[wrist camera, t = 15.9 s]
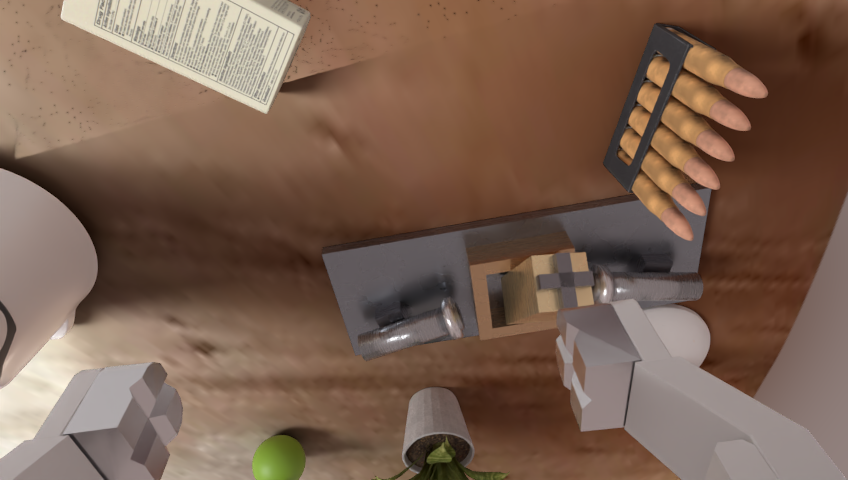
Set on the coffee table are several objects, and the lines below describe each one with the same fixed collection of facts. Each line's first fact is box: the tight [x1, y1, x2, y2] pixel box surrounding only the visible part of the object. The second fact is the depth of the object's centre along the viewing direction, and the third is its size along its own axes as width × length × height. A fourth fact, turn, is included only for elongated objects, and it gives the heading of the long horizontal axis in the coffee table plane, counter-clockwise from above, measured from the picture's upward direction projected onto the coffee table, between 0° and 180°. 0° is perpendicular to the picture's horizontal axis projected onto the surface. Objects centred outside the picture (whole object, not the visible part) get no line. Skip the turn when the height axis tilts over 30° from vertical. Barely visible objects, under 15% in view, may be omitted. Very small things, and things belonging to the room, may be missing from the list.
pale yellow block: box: [501, 252, 595, 325], centre depth 41 cm, size 4×4×10 cm
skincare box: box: [61, 0, 310, 114], centre depth 32 cm, size 6×4×12 cm
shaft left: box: [358, 297, 465, 361], centre depth 46 cm, size 9×4×4 cm, turn 111°
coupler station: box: [322, 183, 711, 355], centre depth 46 cm, size 32×12×4 cm, turn 99°
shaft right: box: [589, 254, 703, 304], centre depth 45 cm, size 9×4×4 cm, turn 87°
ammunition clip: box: [603, 23, 768, 241], centre depth 34 cm, size 11×2×12 cm, turn 171°
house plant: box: [372, 387, 509, 480], centre depth 49 cm, size 14×14×16 cm
